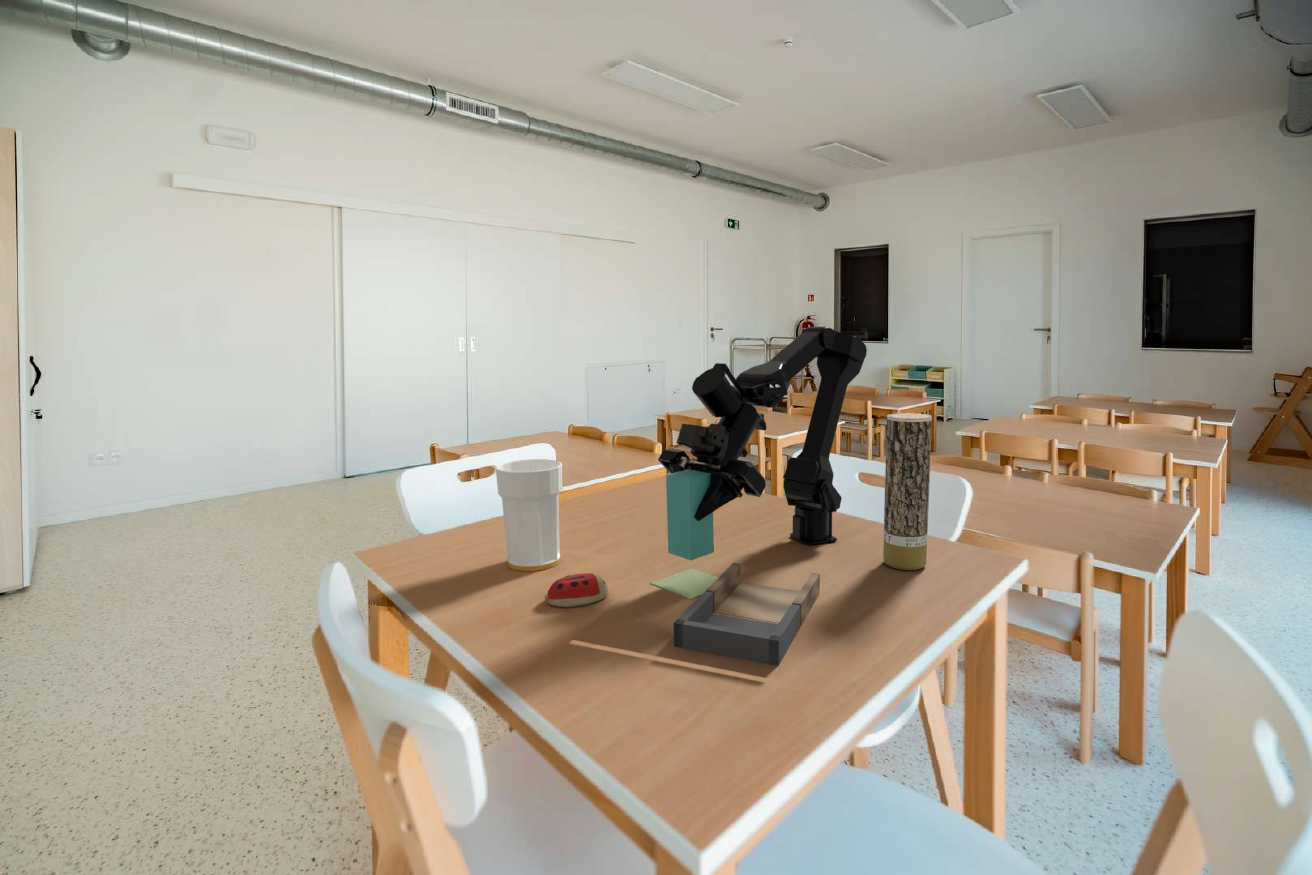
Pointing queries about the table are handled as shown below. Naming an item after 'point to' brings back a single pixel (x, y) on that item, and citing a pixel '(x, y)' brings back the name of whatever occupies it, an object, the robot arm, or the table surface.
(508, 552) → the cup
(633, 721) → the table surface
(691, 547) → the teal block
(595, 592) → the ladybug figurine
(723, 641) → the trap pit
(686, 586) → the pad
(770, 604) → the open channel
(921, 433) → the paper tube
